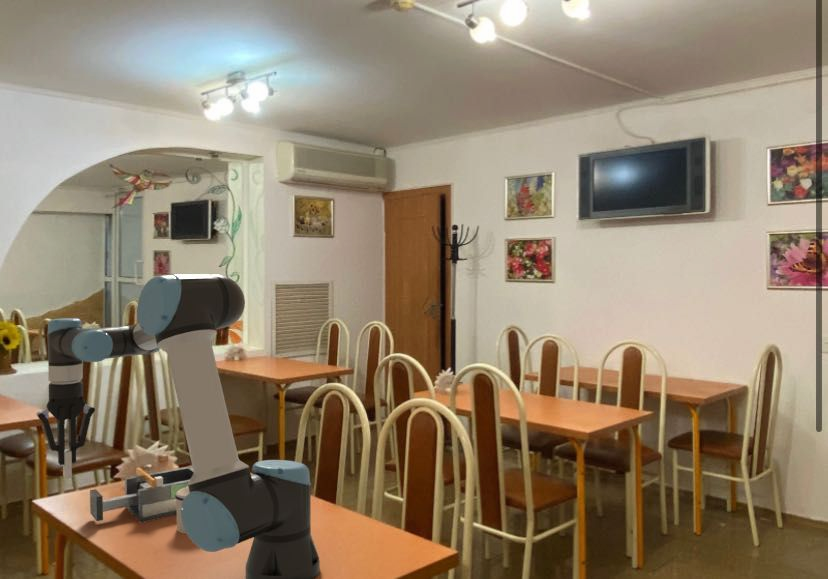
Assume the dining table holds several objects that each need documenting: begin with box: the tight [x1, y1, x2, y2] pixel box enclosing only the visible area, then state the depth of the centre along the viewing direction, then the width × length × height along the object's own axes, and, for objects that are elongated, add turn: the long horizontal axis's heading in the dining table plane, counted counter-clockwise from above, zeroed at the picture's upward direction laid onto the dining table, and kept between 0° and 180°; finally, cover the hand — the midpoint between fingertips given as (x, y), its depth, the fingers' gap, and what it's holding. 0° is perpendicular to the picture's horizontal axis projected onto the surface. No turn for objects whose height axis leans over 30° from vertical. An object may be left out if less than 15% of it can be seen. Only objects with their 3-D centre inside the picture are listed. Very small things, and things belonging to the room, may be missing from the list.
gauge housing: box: [124, 465, 194, 523], centre depth 183 cm, size 14×18×8 cm
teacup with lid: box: [175, 486, 190, 535], centre depth 170 cm, size 12×9×12 cm
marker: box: [154, 476, 163, 487], centre depth 176 cm, size 2×2×2 cm
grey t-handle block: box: [89, 467, 155, 522], centre depth 177 cm, size 14×16×9 cm
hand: (67, 476), depth 169 cm, fingers closed
